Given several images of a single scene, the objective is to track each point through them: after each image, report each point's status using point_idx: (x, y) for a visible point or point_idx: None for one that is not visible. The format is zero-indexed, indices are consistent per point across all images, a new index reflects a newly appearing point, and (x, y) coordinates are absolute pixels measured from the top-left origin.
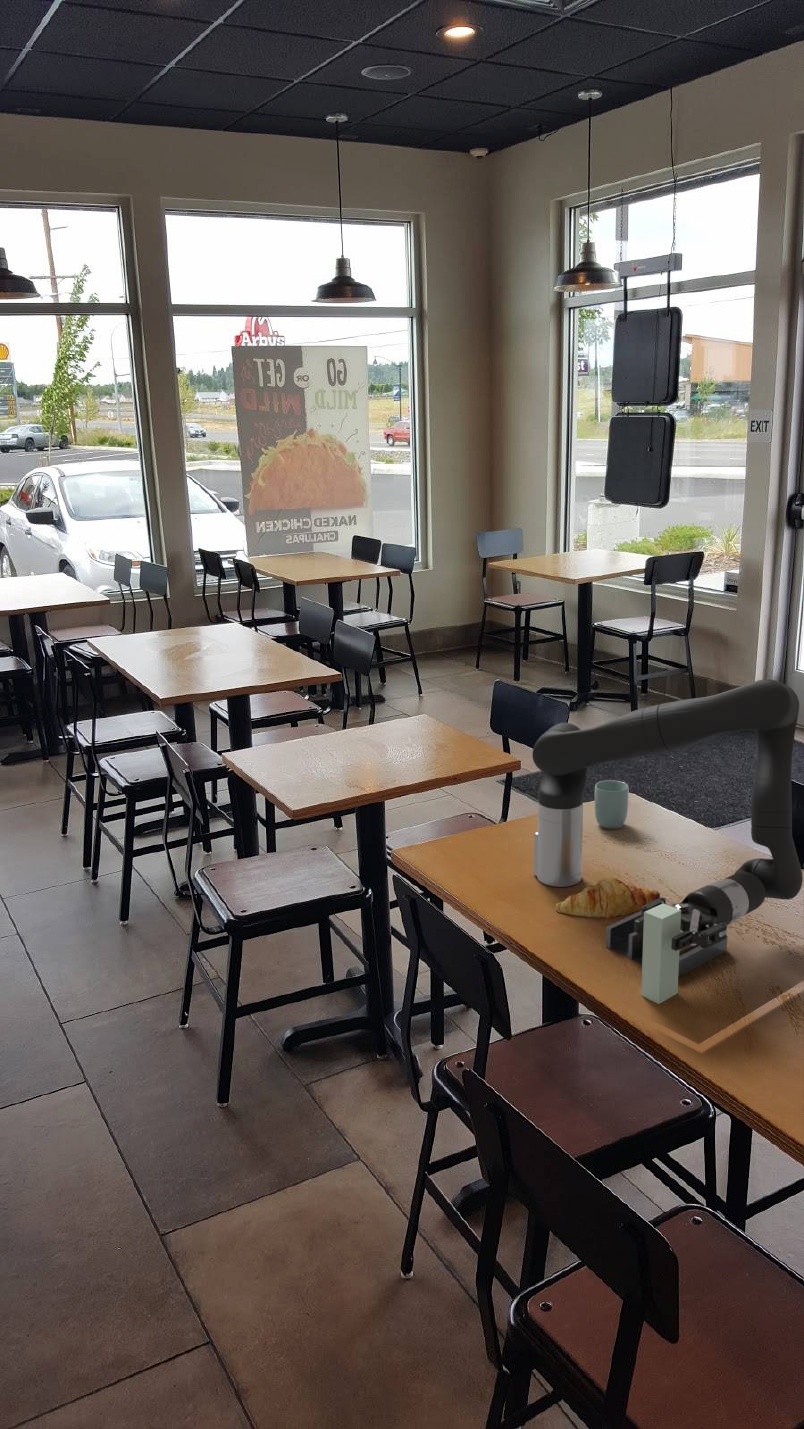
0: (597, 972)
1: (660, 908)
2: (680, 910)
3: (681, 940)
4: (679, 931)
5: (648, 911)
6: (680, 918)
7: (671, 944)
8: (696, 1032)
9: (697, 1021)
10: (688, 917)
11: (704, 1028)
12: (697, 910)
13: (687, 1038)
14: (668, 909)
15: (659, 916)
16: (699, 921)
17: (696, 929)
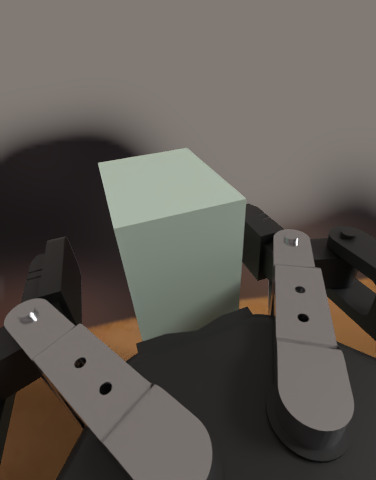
0: (337, 333)
1: (190, 179)
2: (114, 226)
3: (37, 261)
4: (138, 322)
5: (184, 154)
6: (125, 272)
7: (73, 254)
8: (34, 413)
9: (60, 446)
10: (174, 377)
11: (28, 444)
12: (174, 467)
13: (36, 381)
14: (160, 193)
15: (123, 163)
16: (86, 433)
17: (19, 335)
